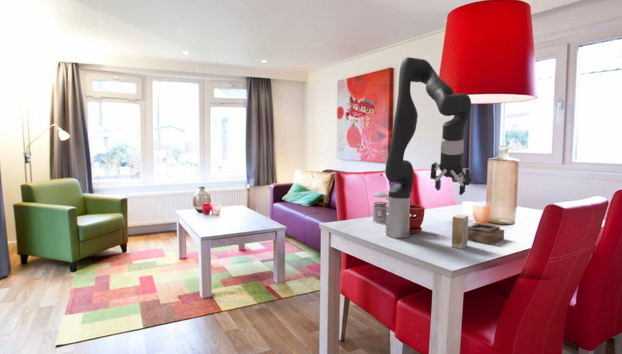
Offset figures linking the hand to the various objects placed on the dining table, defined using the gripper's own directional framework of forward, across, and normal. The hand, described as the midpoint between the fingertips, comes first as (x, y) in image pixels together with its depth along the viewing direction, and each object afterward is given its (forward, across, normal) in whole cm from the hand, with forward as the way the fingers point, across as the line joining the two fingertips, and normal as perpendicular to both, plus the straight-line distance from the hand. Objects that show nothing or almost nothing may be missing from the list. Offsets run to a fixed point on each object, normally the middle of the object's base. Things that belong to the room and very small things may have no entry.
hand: (449, 191), depth 141 cm
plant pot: (+30, +22, -13) cm, 39 cm away
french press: (+35, +42, -23) cm, 60 cm away
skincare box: (+24, -4, -2) cm, 24 cm away
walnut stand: (+28, -8, -20) cm, 35 cm away
